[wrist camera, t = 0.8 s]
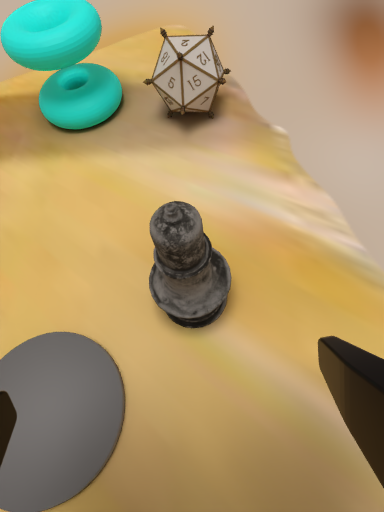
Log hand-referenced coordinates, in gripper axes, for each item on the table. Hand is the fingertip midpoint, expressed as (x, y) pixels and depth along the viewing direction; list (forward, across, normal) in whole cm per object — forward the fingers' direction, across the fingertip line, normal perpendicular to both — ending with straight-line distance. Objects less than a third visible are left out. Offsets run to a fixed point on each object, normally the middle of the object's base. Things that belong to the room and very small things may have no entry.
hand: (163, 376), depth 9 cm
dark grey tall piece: (+16, -1, +5) cm, 16 cm away
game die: (+33, -4, -10) cm, 34 cm away
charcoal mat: (+10, +11, +10) cm, 18 cm away
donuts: (+36, +9, -13) cm, 39 cm away
